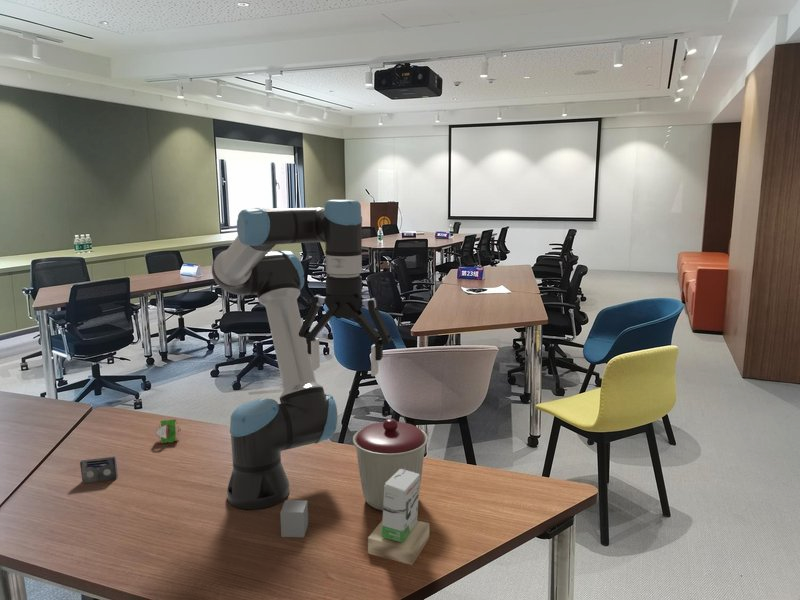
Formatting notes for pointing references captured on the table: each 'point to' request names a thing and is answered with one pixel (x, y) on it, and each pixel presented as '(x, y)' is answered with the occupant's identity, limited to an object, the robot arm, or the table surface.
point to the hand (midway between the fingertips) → (344, 371)
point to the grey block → (294, 518)
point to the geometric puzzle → (167, 431)
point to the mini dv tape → (98, 469)
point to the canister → (387, 455)
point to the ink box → (400, 505)
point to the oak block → (399, 544)
